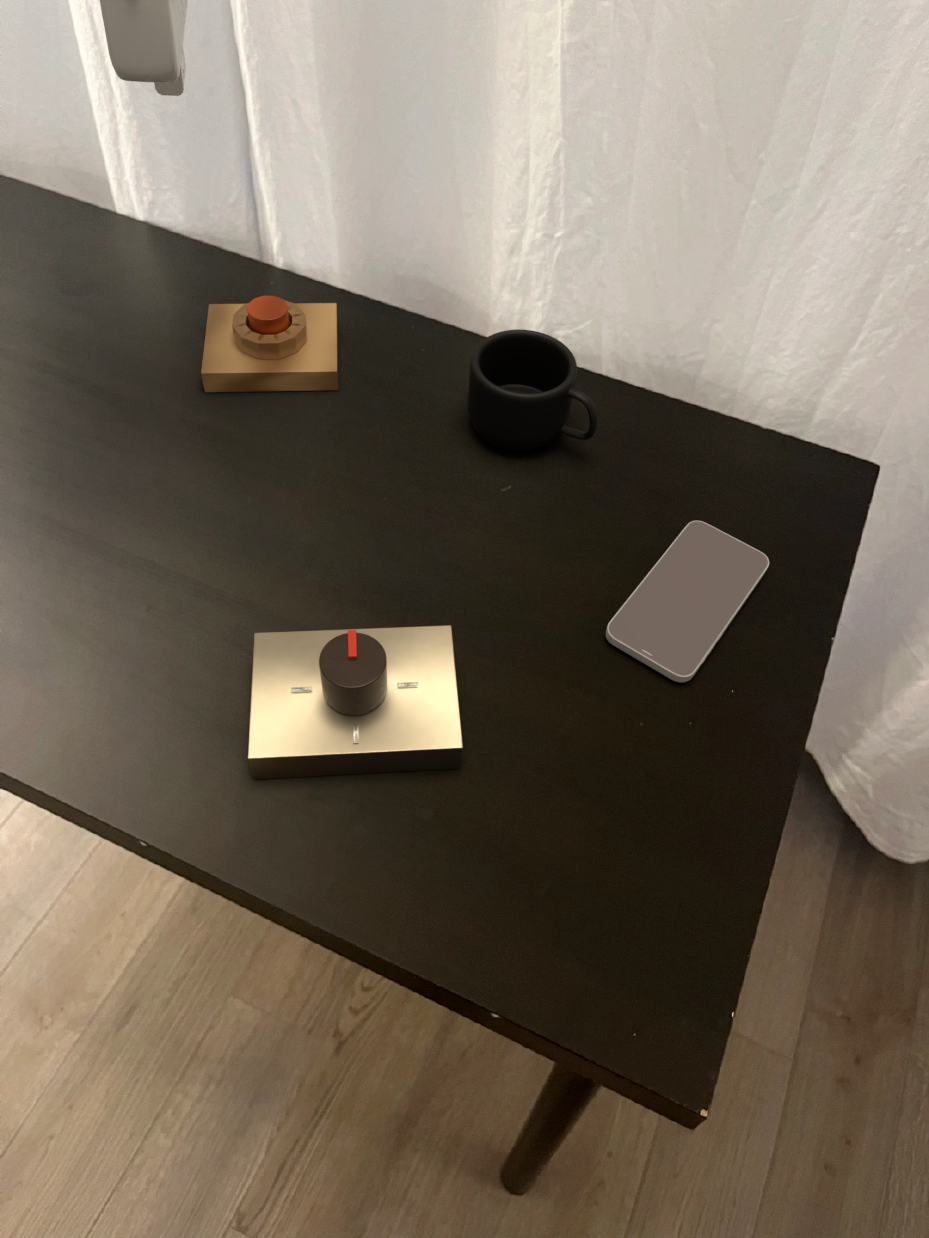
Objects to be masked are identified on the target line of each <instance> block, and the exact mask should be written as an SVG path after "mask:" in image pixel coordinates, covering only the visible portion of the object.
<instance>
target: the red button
mask: <svg viewBox="0 0 929 1238" xmlns="http://www.w3.org/2000/svg"><path fill="white" fill-rule="evenodd" d="M284 300H285V299H283V298H281V297H279V296H276V295H261V296H258V297H255V298H253V299H251V300H250V301H249V302H248V303H249V304H248V306H247V312H248V319H249V325H250V328H251V329H252V331H254V332H255V333H258V334H261V335H276V334H279V333H281V332H284V331H286V330H287V328H288V327H289V323H290V322H289V313H288V306H287V303H286V302H285V301H286V300H285V301H284Z"/></svg>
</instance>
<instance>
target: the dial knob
mask: <svg viewBox="0 0 929 1238" xmlns="http://www.w3.org/2000/svg"><path fill="white" fill-rule="evenodd" d="M319 667H320V675H321V683H322V691H323V696H324V698H325V700H326V702H327V703H328V704H329V705H330V706H331V707H332V708H333V709H334V710H336V711H338V712H340V713H343V714H347V715H361V714H365V713H368V712H370V711H372V710H374V709H375V708H376V707H378V706H379V705H380V704H381V702H382V701H383V700H384V698H385V696H386V693H387V658H386V653H385V650H384V648H383V647H382V645H381V644H380V643H379V642H378V641H377V640H376V639H374V638H373V637H371V636H369V635H366V634H363V633H356V630H348V633H345V634H341V635H339V636H336V637H335V638H333V639H331V640H330V641H329V642H328V643H327V644H326V645H325V646H324V648H323V649H322V651H321V653H320V657H319Z"/></svg>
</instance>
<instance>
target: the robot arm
mask: <svg viewBox="0 0 929 1238" xmlns="http://www.w3.org/2000/svg"><path fill="white" fill-rule="evenodd" d="M99 4H100V10H101V16H102V22H103V28H104V33H105V37H106V38H105V39H106V44H107V50H108V56H109V59H110V62H111V66H112V68H113V70H114V72H115V74H116V75H117V77H118V78H119V79H120V80H122V81H126V82H136V83H137V82H138V83H153V85H154V90H155V91H156V92H157V94H159V95H161V96H169V97H170V96H175V97H179V96H181V95H182V94H183V93H184V88H185V77H186V71H187V65H186V60H185V59H186V57H185V51H184V39H185V38H184V37H185V29H186V22H187V21H186V20H187V11H188V4H189V0H99Z"/></svg>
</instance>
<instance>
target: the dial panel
mask: <svg viewBox="0 0 929 1238" xmlns="http://www.w3.org/2000/svg"><path fill="white" fill-rule="evenodd" d="M348 630H356V633H363V634H366V635H369V636H371V637H373V638H374V639H376V640H377V641H378V642H379V643H380V644H381V645H382V647H383V648H384V650H385V653H386V658H387V693H386V696H385V698H384V700H383V701H382V702H381V704H380V705H379V706H378V707H376V708H375V709H374V710H372V711H370V712H368V713H365V714H361V715H347V714H343V713H340V712H338V711H336V710H334V709H333V708H332V707H331V706H330V705H329V704H328V703H327V702H326V700H325V698H324V696H323V691H322V683H321V675H320V667H319V657H320V653H321V651H322V649H323V648H324V646H325V645H326V644H327V643H328V642H329V641H330V640H331V639H333V638H335V637H336V636H339V635H341V634H345V633H348ZM252 655H253V656H252V668H251V686H250V688H251V689H250V705H249V707H250V709H249V725H248V726H249V727H248V729H249V730H248V745H247V761H248V765H249V769H250V773H251V776H252V779H253V780H268V779H269V780H270V779H289V778H307V777H309V778H310V777H325V776H344V775H346V776H347V775H363V774H364V775H365V774H381V773H382V774H383V773H400V772H401V773H402V772H418V771H419V772H420V771H421V772H422V771H436V770H438V771H440V770H457V769H458V770H459V769H462V761H463V751H464V744H463V742H464V741H463V733H462V723H461V712H460V702H459V701H460V700H459V692H458V691H459V690H458V681H457V670H456V660H455V649H454V639H453V629H452V625H450V624H449V625H447V624H445V625H426V626H425V625H422V626H399V627H398V626H397V627H371V628H346V629H320V630H293V631H271V632H270V631H269V632H268V631H267V632H254V634H253V650H252Z"/></svg>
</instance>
